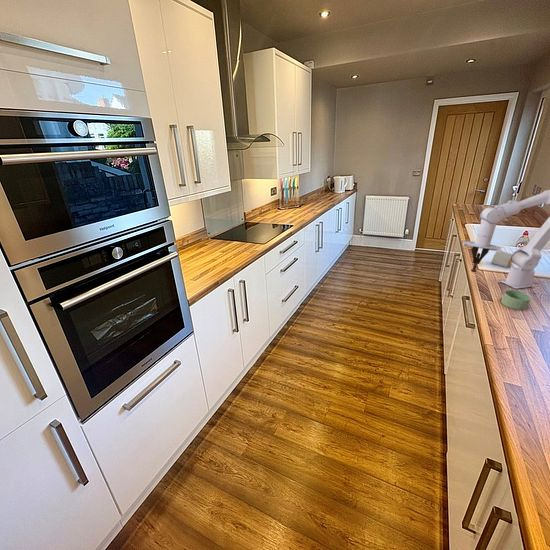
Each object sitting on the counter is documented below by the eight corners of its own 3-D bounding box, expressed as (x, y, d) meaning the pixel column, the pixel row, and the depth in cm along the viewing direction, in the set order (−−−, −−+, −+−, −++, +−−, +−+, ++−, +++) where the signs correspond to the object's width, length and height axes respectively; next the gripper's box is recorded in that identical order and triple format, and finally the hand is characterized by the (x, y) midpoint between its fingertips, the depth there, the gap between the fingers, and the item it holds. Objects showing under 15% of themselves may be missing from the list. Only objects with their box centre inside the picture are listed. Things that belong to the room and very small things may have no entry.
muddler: (471, 269, 139) (476, 251, 135) (476, 271, 138) (482, 252, 134) (470, 271, 137) (476, 253, 133) (476, 272, 136) (481, 254, 132)
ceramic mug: (507, 269, 152) (512, 256, 149) (490, 264, 158) (494, 251, 155) (514, 264, 158) (519, 251, 155) (497, 260, 164) (502, 247, 161)
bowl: (512, 297, 127) (515, 288, 125) (532, 308, 119) (536, 298, 117) (495, 300, 125) (499, 291, 123) (515, 311, 117) (519, 301, 115)
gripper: (505, 235, 128) (495, 263, 134) (467, 230, 137) (459, 256, 142) (504, 239, 123) (494, 268, 129) (465, 233, 132) (457, 261, 137)
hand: (476, 262), depth 136 cm, fingers closed on muddler, 1 cm apart
